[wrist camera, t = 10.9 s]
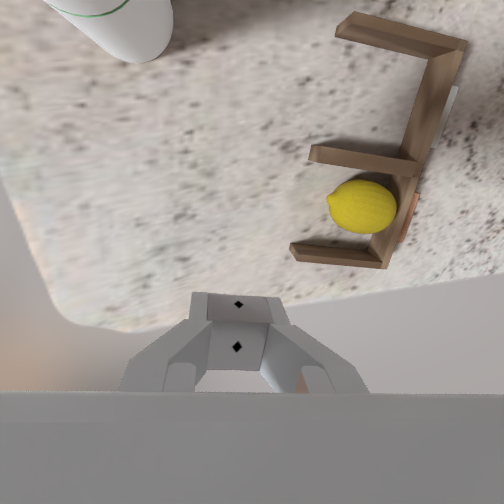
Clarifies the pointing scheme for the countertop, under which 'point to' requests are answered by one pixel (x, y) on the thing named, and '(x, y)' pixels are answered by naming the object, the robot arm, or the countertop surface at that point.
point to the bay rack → (415, 139)
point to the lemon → (362, 206)
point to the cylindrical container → (122, 25)
